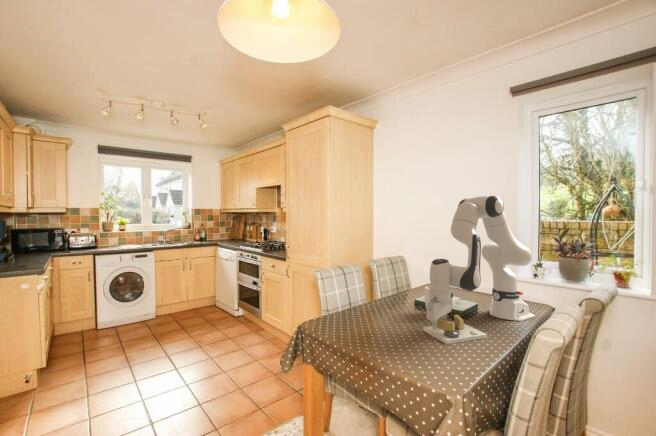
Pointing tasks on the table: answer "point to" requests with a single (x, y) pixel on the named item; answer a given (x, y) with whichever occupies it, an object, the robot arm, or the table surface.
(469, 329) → the level plate
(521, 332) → the table surface
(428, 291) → the jar
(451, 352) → the table surface
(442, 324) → the knob
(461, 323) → the knob
